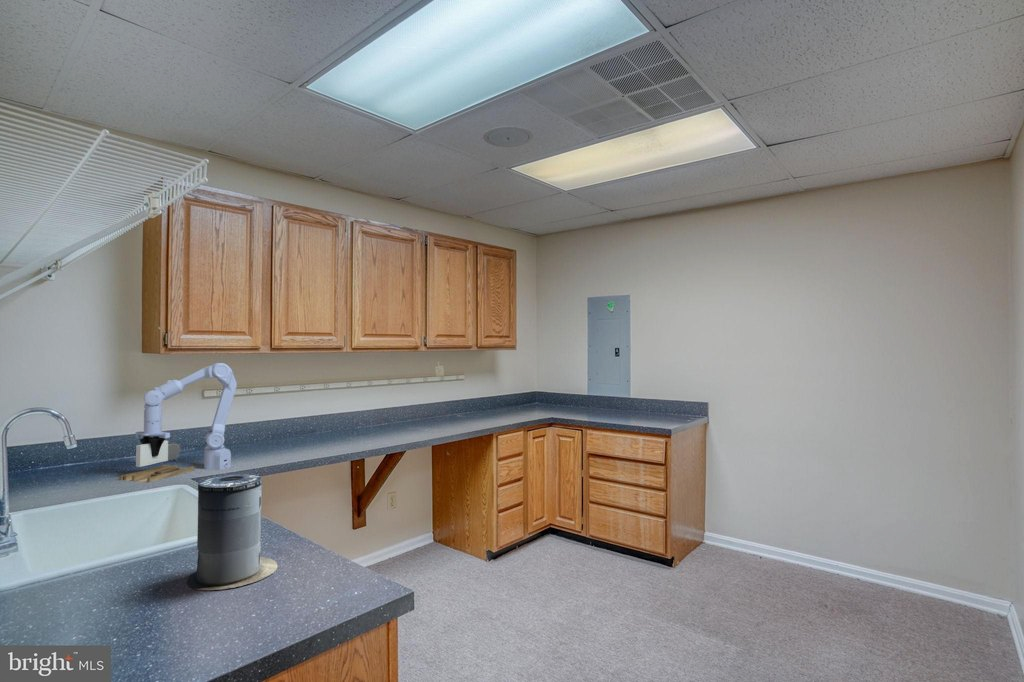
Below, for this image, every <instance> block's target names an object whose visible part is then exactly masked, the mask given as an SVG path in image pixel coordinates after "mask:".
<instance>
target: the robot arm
mask: <svg viewBox="0 0 1024 682" xmlns="http://www.w3.org/2000/svg"><path fill="white" fill-rule="evenodd" d="M207 378H215V379H217V380H218V381H219V383H220V385H221V386H222V390H221V394H220V397H219V401H218V404H217V408H216V411H215V413H214V418H213V420H212V424H211V426H210V428H209V430H208V432H207V433H206V435H205V436H204V441H205V443H206V446H204V448H203V449H204V455H203V456H204V457H203V461H204V464H203V466H204V467H203V469H204V470H208V471H211V470H215V471H217V470H218V471H221V470H222V471H223V470H224V469H228V468H231V466H232V464H231V463H232V453H231V450H230V449H229V448H226V447H225V444H224V443H225V429H226V424H227V420H228V418H229V413H230V410H231V406H232V403H233V399H234V397H235V394H236V390H237V386H238V383H237V380H236V378H235V375H234V372H233V370H232V369H231V367H230V366H229V365H228V364H226V363H221V362H216V363H214V364H213V365H208V366H205V367H203V368H200V369H199V370H196V371H195V372H192V373H191V374H189V375H187V376H186V377H184V378H182V379H180V380H177V379H172V380H171V379H169V380H167V381H166V383H164V384H162V385H160V386H155V387H153V388H154V390H153V389H152V390H149V391H147V392H146V393H145V394H144V396H143V401H144V402H145V403H144V406H143V407H144V410H143V431H142V430H141V431H136V432H135V438H140V439H139V442H140V444H141V445H142V444H147V443H150V445H151V453H152V457H154V456H158V454H159V451H160V448H161V445H162V443H163V442H164V440H166V439H170V438H171V433H170V432H167V431H162V427H163V426H162V423H163V422H162V416H163V412H162V409H163V408H162V402H163V401H164V400H165V401H166V400H169V399H170V398H172V397H174V396H177V395H178V394H181V393H182V392H183V389H184V387H187V386H189V385H191V384H194V383H196V382H197V381H198V382H199V380H202V379H207Z"/></svg>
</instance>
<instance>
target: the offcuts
mask: <svg viewBox="0 0 1024 682" xmlns="http://www.w3.org/2000/svg"><path fill="white" fill-rule="evenodd" d="M177 470H180V467H178V468H175V467H173V468H168V469H164V470H160V471H156V472H154V474H151V477H153V476H157V475H161V474H165V473H169V472H173V471H177Z"/></svg>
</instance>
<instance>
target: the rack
mask: <svg viewBox="0 0 1024 682" xmlns="http://www.w3.org/2000/svg"><path fill="white" fill-rule="evenodd" d="M173 467H175V468H179V465H178V464H175V465H171V464H164V465H160V466H155V467H152V468H147V469H143V470H139V471H134V472H130V473H126V474H122V475H119V476H118V480H119V481H126V482H139V483H141V482H142V483H153V482H155V481H160V480H163V479H166V478H167V479H168V478H171V477H175V476H179V475H183V474H186V473H189V472H194V471H195V466H193V465H192V466H189V467H185V468H181V469H180V470H177V471H173V472H169V473H165V474H161V475H157V476H153V477H151V474H154V472H156V471H160V470H164V469H168V468H173Z"/></svg>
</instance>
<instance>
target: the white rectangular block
mask: <svg viewBox="0 0 1024 682" xmlns="http://www.w3.org/2000/svg"><path fill="white" fill-rule="evenodd" d="M168 442H169V440H166V439H165V440H164V442H163V443H162V445H161V448H160V451H159V454H158V456H154V457H152V453H151V445H150V443H147V444H142V443H141V444H138V445H135V452H136V453H135V468H136V467H137V468H141V467H146V466H150V465H154V464H155V465H156V464H159V463H162V462H164V461H167V462H169V461H168ZM164 463H165V462H164Z"/></svg>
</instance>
